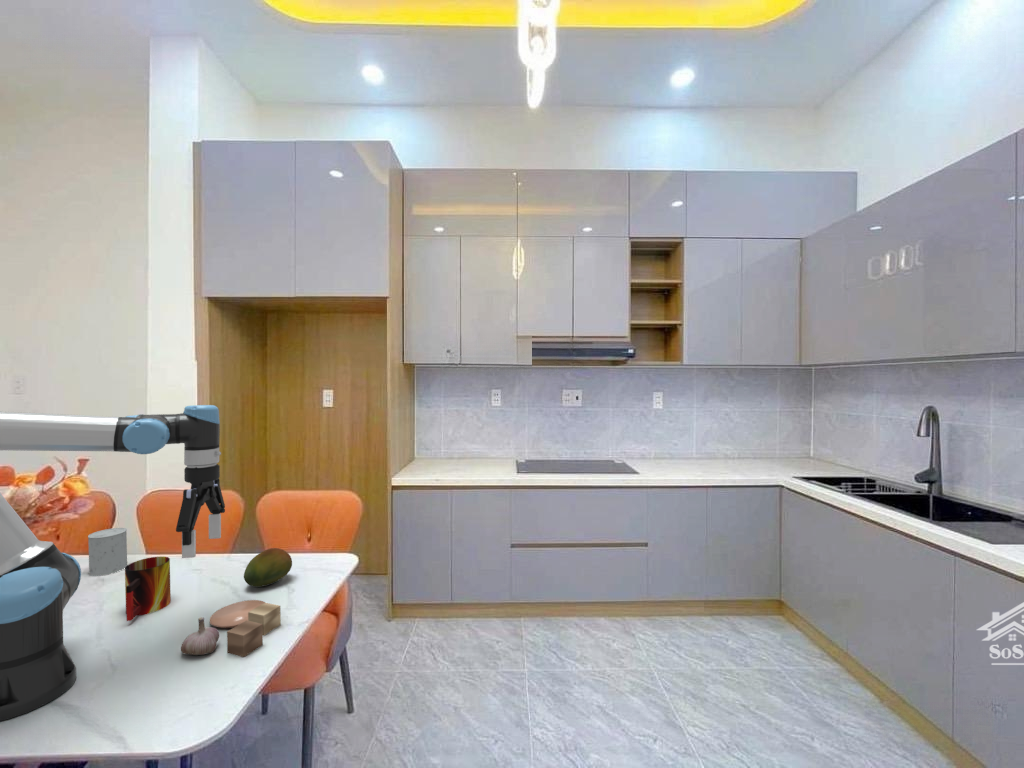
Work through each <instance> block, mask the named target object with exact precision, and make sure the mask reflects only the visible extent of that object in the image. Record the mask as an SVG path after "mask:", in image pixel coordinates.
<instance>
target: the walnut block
mask: <svg viewBox="0 0 1024 768" xmlns="http://www.w3.org/2000/svg"><path fill="white" fill-rule="evenodd" d="M263 641H264V639H263V629H262V624H260V623H255V622H251V621H247V620H246V621H245V622H243V623H241V624H239V625H238V626H236V627H234V628H230V629H228V630H227V632H226V642H227V643H226V647H227V649H226V650H227V654H230V655H234V656H237V657H241V658H246V657H247V656H249V655H250V654H252V653H253V652H254V651H256V650H258V649H259V648H261V647H262V646H264V642H263Z"/></svg>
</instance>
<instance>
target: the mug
mask: <svg viewBox="0 0 1024 768" xmlns="http://www.w3.org/2000/svg"><path fill="white" fill-rule="evenodd" d="M124 582H125V583H124V587H125V590H124V591H125V614H126V622H129V621H130V622H131V621H133V620H134V619H135V618H136V617H139V616H144V615H148V614H149V615H150V614H153V613H156V612H159V611H161V610H163V609H165V608H166V607H168V606H169V605H170V604H171V602H172V600H171V597H172V596H171V558H170V557H168V556H153V557H152V556H151V557H146V558H142V559H138V560H135V561H133V562H131V563H129V564H127V566H126V567H125V569H124Z"/></svg>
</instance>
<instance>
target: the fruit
mask: <svg viewBox="0 0 1024 768" xmlns="http://www.w3.org/2000/svg"><path fill="white" fill-rule="evenodd" d="M292 566H293V561H292V557H291V555H290V554H289V552H288V551H286V550H284V549H282V548H279V547H271V548H267V549H265V550H263V551H261V552H259V553H258V554H257V555H255V556H253V558H252V559H251V560H250V561H249V562H248V564H247V565H246V567H245V570H244V574H243V579H244V581H245V583H246V584H247V585H249V586H251V587H253V588H260V587H266V586H270V585H271V584H274V583H277V582H279V581H280V580H282V579H283V578H284V577H286V576H287V575H288V573H289V572H290V571H291V569H292Z"/></svg>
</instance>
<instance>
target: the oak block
mask: <svg viewBox="0 0 1024 768" xmlns="http://www.w3.org/2000/svg"><path fill="white" fill-rule="evenodd" d="M281 611H282V610H281V605H279V604H274V603H269V602H265V603H264V604H262V605H260V606H258V607H257V608H255V609H253V610H251V611H249V612H248V621H251V622H255V623H260V624H262V629H263V636H264V637H265V635H267V634H269V633H271V632H272V631H274V630H275V629H277V628H278V627H280V626H281V625H282V624H281V622H282V621H281V620H282V619H281V618H282V617H281V615H282V613H281Z"/></svg>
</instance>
